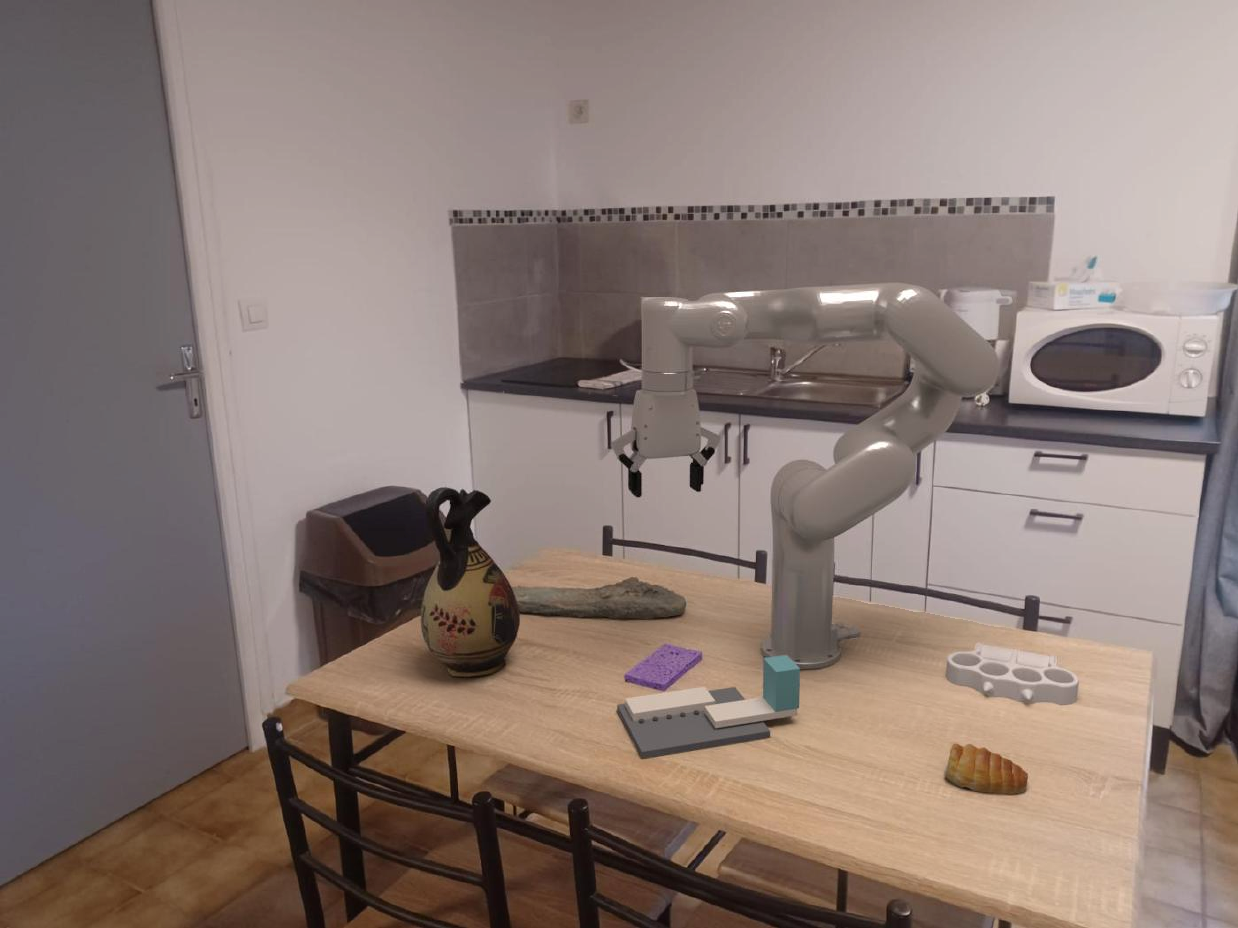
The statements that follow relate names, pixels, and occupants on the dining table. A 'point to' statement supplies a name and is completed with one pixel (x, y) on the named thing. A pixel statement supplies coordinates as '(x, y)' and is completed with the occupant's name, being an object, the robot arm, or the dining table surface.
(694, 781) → the dining table surface
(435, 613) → the ceramic jug
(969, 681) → the knuckle duster
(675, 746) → the mat
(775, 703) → the stub
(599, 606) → the elongated rock
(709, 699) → the ticket
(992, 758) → the pastry
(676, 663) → the sponges
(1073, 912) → the dining table surface
